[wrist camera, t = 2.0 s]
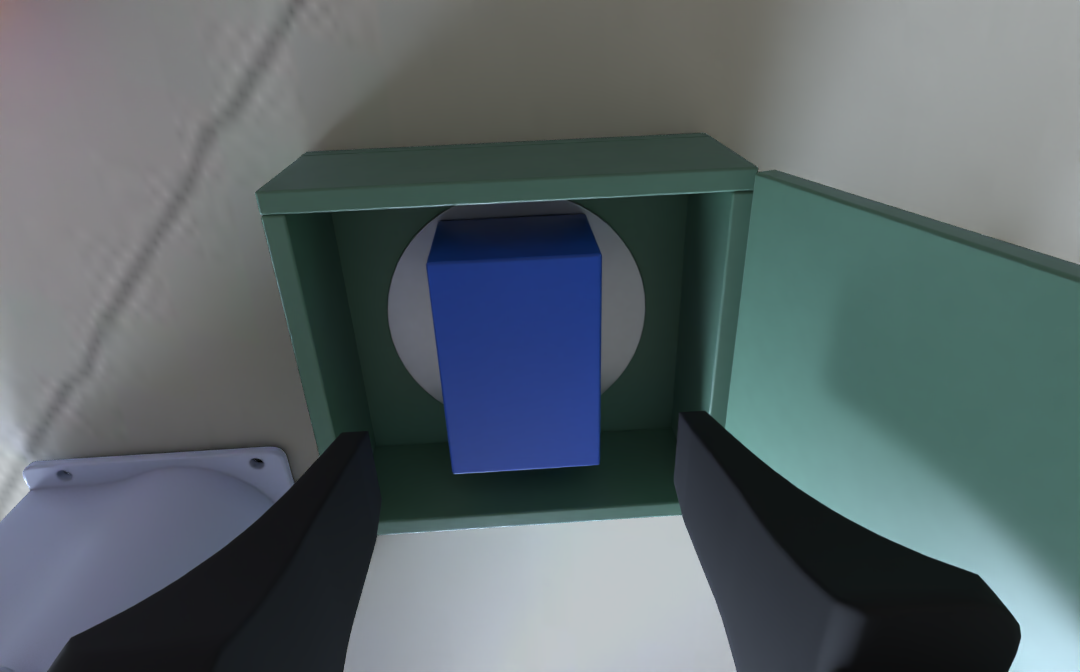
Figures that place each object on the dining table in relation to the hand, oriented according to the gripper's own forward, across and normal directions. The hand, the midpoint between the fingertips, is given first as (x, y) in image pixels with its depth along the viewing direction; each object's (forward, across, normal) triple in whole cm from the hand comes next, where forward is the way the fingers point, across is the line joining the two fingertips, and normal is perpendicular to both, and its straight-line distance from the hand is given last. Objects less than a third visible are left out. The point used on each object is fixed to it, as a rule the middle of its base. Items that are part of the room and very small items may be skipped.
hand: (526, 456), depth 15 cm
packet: (+7, 0, 0) cm, 7 cm away
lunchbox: (+8, 0, 0) cm, 8 cm away
